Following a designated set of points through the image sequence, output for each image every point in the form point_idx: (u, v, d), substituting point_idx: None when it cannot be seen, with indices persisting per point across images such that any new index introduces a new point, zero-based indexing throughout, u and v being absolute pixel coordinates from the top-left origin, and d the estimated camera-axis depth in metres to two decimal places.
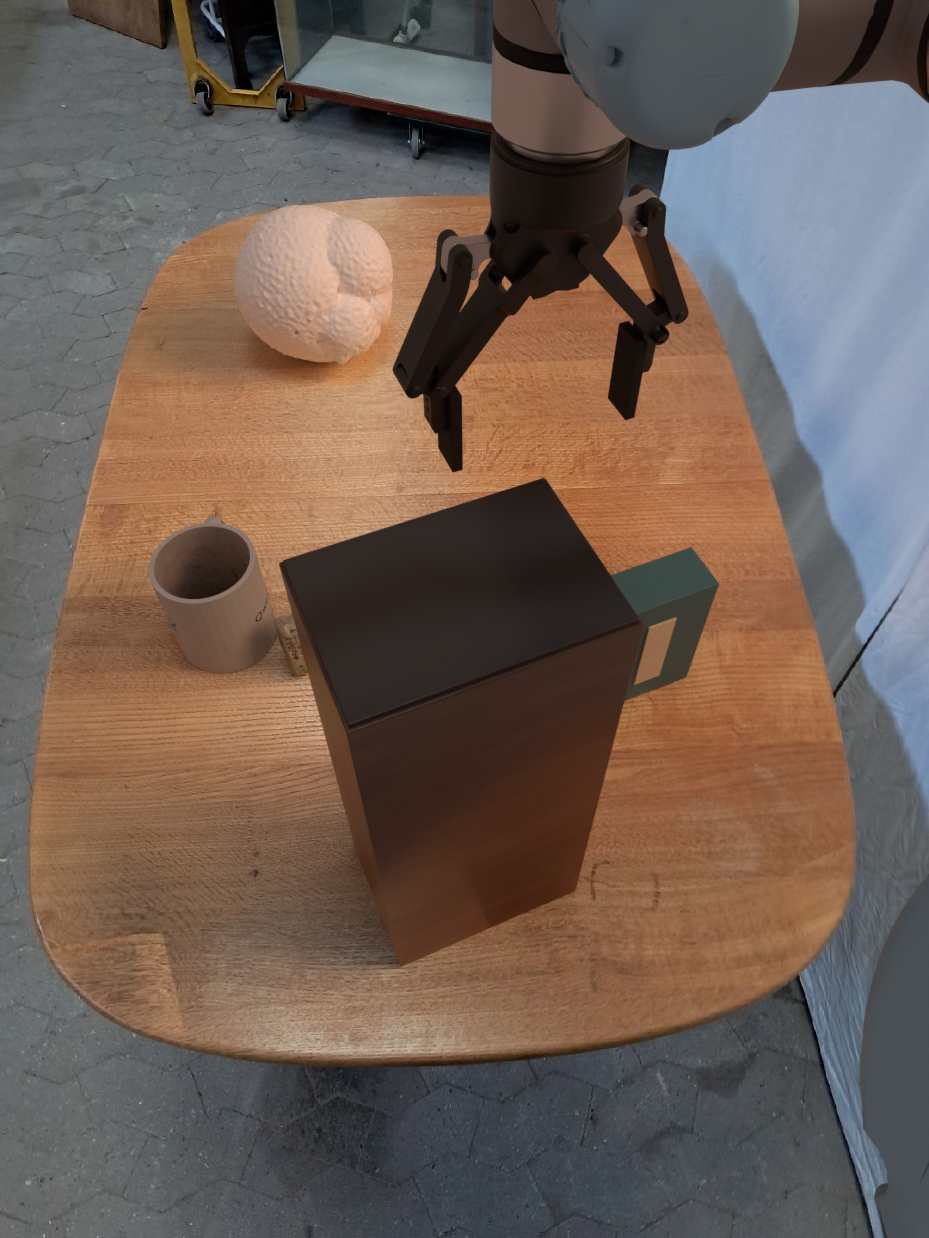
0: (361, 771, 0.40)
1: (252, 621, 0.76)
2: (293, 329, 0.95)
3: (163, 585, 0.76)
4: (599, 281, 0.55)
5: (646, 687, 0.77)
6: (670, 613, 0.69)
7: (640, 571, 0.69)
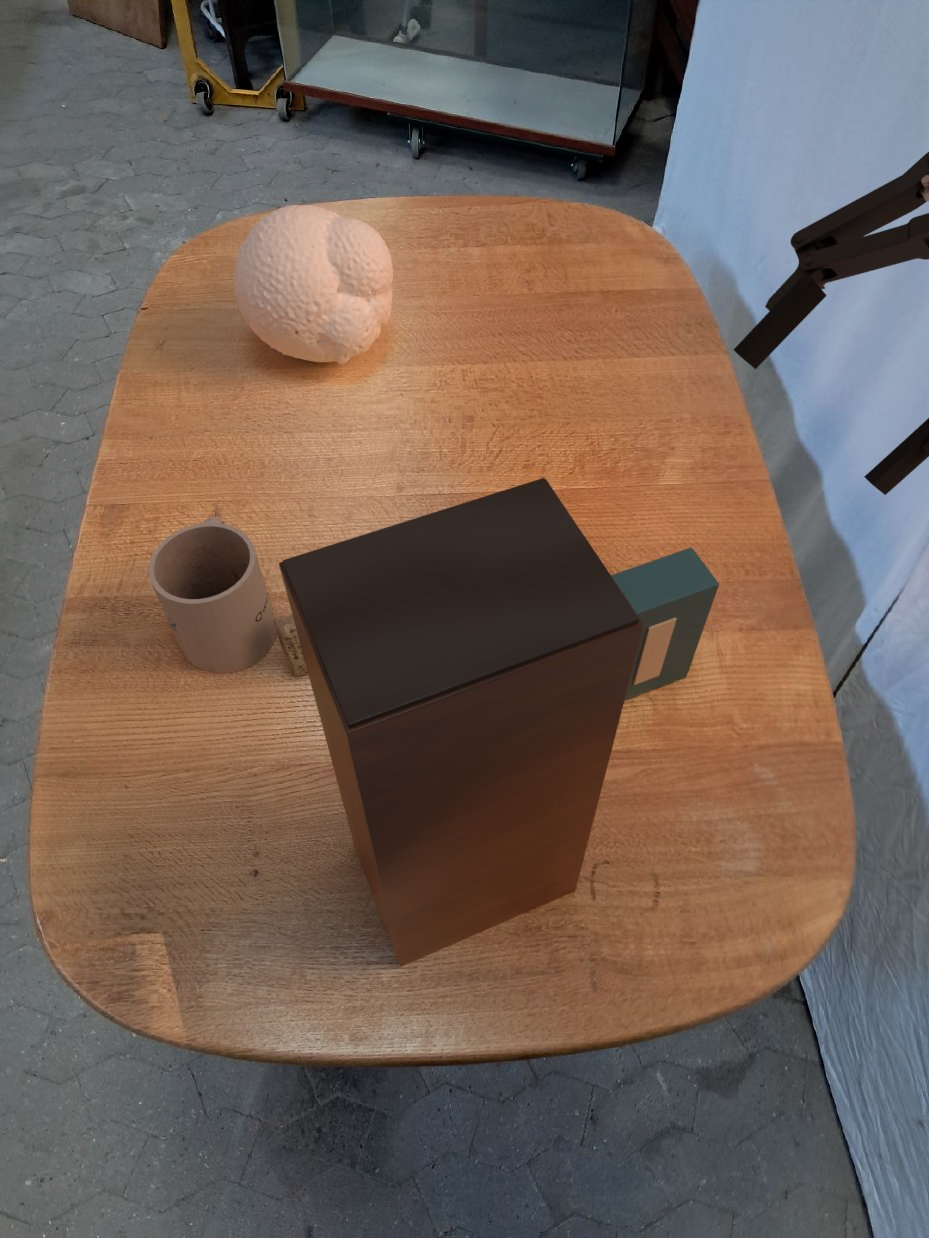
0: (361, 771, 0.40)
1: (252, 621, 0.76)
2: (293, 329, 0.95)
3: (163, 585, 0.76)
4: None
5: (646, 687, 0.77)
6: (670, 613, 0.69)
7: (640, 571, 0.69)
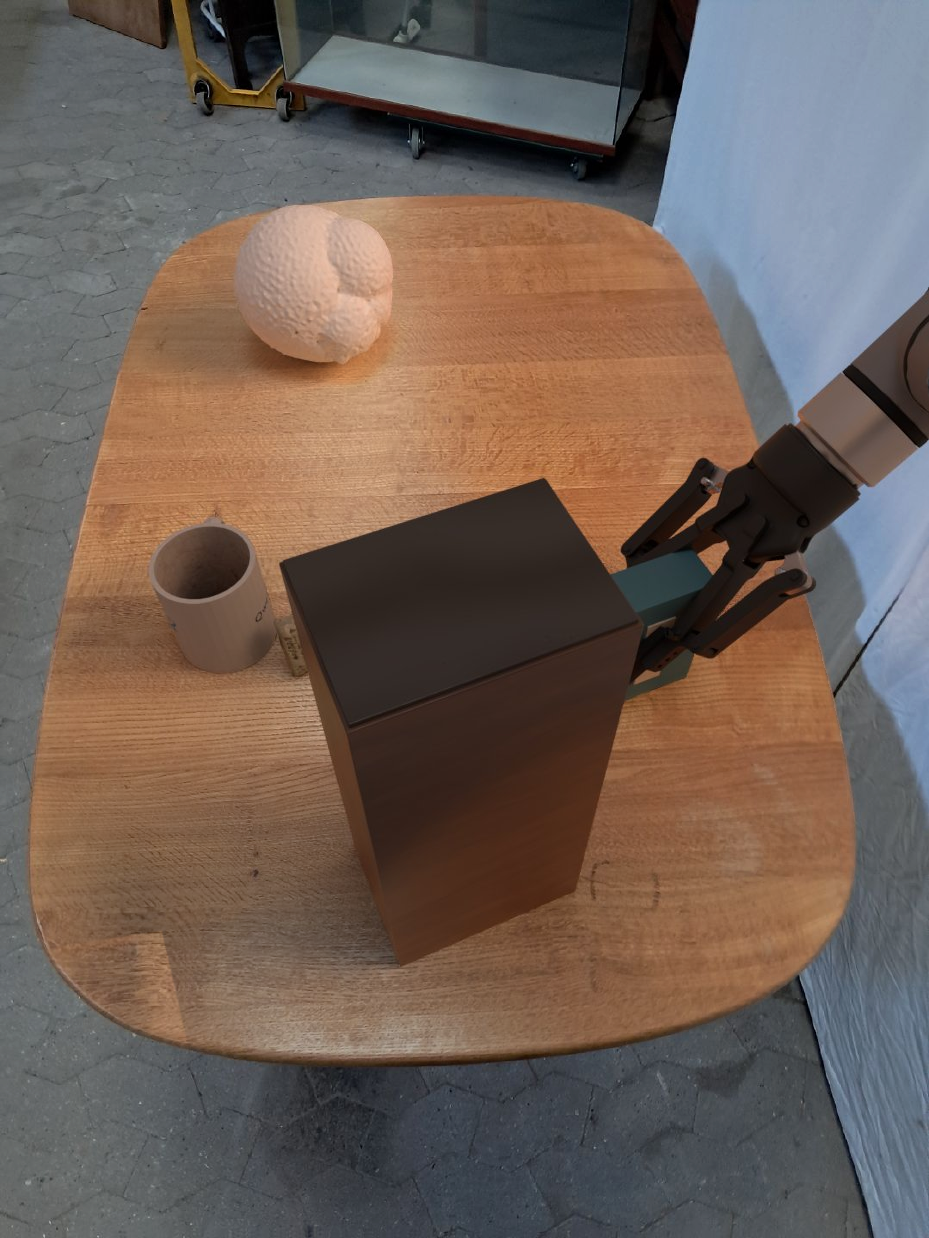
0: (361, 771, 0.40)
1: (252, 621, 0.76)
2: (293, 329, 0.95)
3: (163, 585, 0.76)
4: (731, 547, 0.66)
5: (646, 687, 0.77)
6: (670, 612, 0.69)
7: (639, 570, 0.69)
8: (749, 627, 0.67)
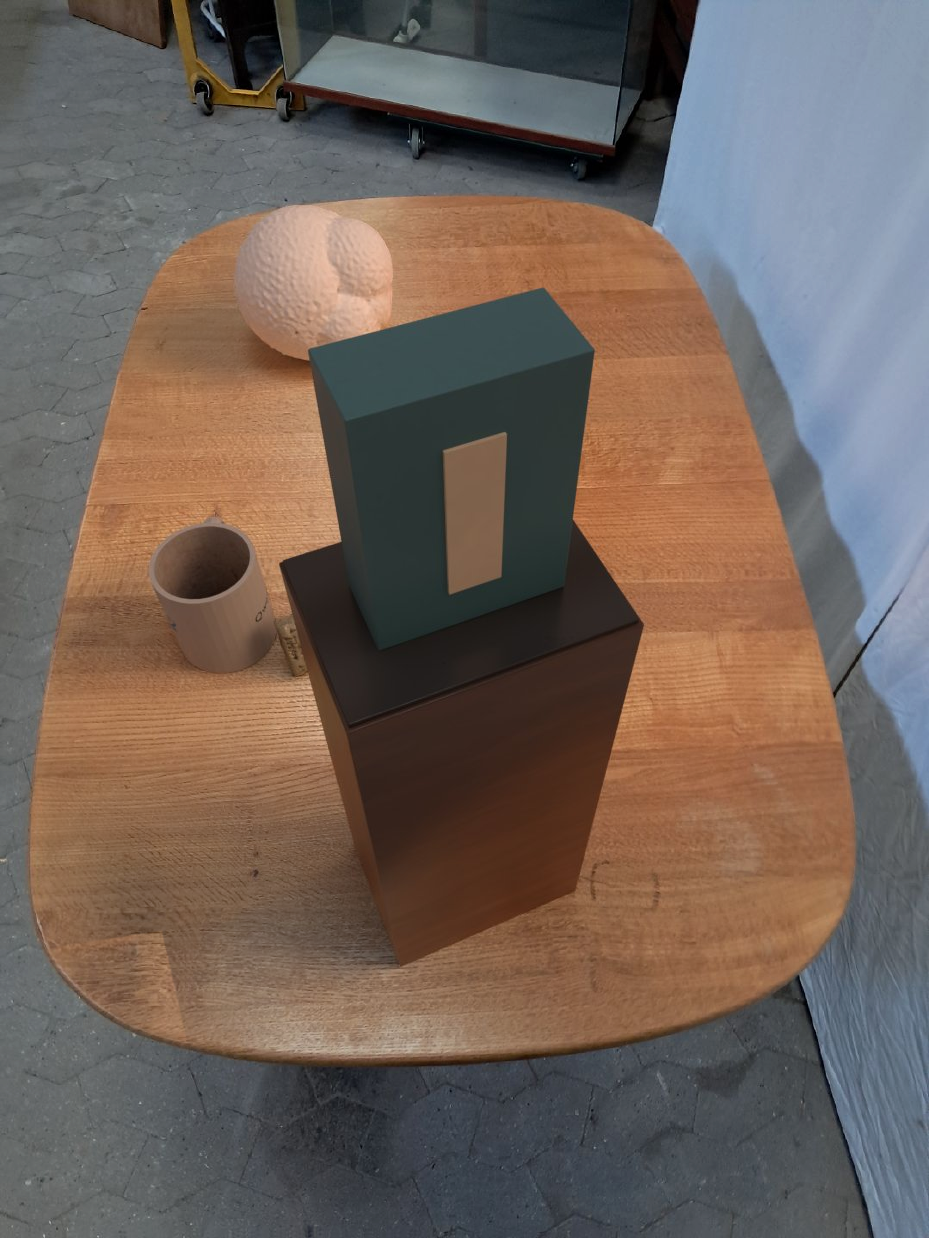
0: (361, 771, 0.40)
1: (252, 621, 0.76)
2: (293, 329, 0.95)
3: (163, 585, 0.76)
4: None
5: (480, 603, 0.40)
6: (490, 418, 0.31)
7: (425, 328, 0.32)
8: None
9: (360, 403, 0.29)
